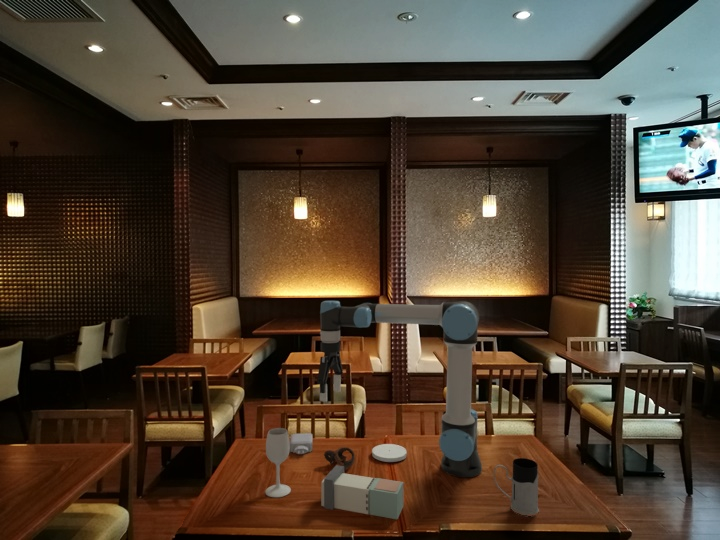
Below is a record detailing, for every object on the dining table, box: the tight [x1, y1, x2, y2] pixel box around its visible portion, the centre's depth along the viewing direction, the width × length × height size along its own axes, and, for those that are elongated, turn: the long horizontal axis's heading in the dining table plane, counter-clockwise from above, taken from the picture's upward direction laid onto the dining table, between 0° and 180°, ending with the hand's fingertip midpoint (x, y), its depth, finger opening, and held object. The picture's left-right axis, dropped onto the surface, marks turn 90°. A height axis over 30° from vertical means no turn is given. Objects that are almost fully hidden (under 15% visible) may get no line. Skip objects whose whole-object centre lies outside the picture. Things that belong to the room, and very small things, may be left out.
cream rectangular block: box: [320, 464, 377, 515], centre depth 155 cm, size 16×10×10 cm, turn 71°
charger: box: [289, 432, 314, 455], centre depth 197 cm, size 5×9×15 cm
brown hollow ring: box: [323, 446, 356, 470], centre depth 182 cm, size 12×10×8 cm
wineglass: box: [264, 427, 292, 498], centre depth 163 cm, size 9×9×21 cm
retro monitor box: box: [368, 477, 404, 520], centre depth 150 cm, size 9×8×8 cm
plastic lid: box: [371, 443, 408, 463], centre depth 192 cm, size 14×14×2 cm
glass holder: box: [493, 457, 540, 515], centre depth 152 cm, size 9×14×15 cm, turn 81°
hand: (330, 396), depth 182 cm, fingers open, 13 cm apart
